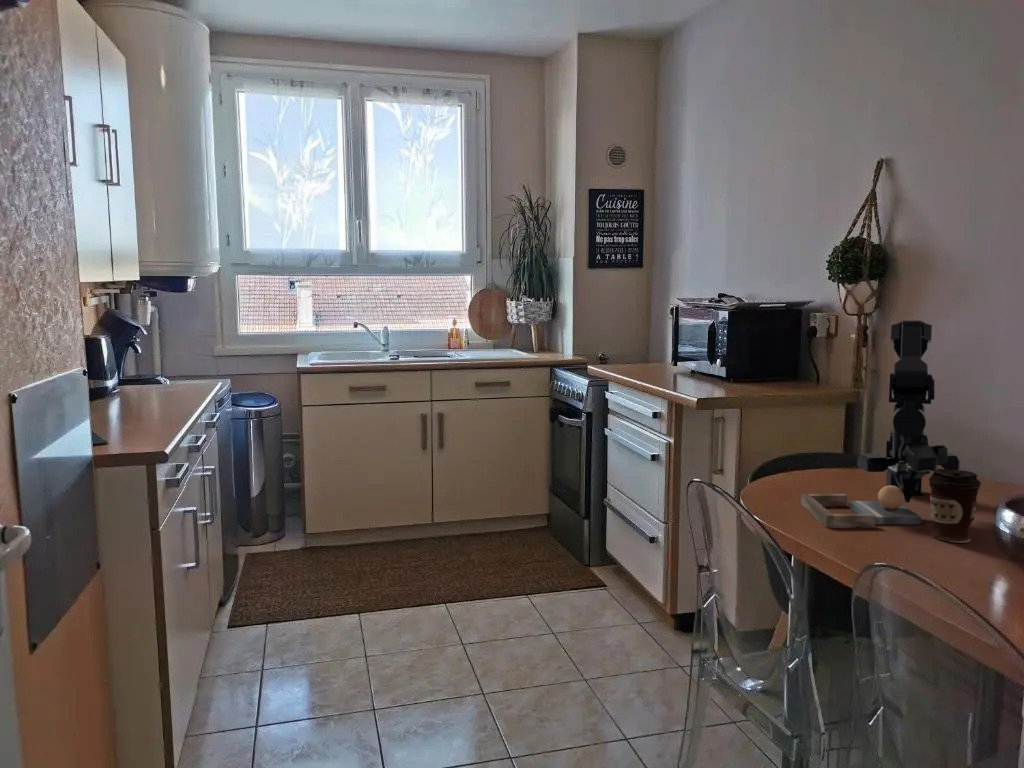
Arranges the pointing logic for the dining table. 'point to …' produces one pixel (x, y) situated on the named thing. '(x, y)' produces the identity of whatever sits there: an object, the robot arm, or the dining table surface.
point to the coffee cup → (953, 503)
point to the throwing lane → (865, 510)
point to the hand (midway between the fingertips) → (906, 502)
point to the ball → (891, 497)
